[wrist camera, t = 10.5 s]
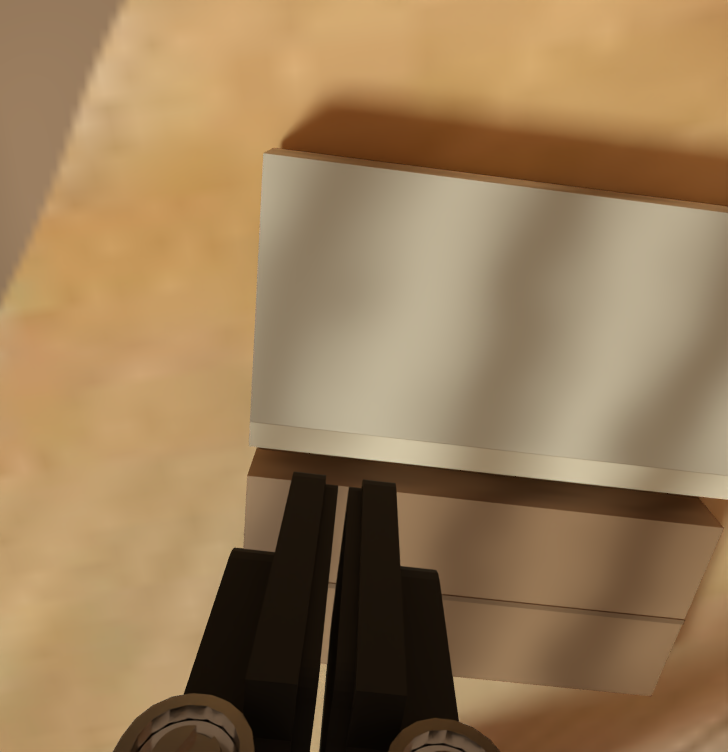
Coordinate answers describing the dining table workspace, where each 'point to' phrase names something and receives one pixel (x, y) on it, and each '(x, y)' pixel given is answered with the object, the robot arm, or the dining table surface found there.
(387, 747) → the robot arm
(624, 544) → the laid board
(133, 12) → the dining table surface
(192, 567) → the dining table surface
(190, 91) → the dining table surface
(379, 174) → the board
